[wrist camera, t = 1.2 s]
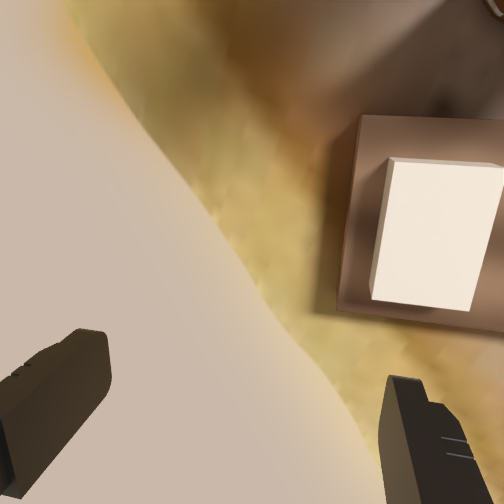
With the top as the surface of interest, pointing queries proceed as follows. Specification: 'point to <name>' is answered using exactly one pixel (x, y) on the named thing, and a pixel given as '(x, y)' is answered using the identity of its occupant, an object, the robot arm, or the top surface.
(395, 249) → the tile
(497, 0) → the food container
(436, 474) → the robot arm
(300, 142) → the top surface
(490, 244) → the brown wooden board
